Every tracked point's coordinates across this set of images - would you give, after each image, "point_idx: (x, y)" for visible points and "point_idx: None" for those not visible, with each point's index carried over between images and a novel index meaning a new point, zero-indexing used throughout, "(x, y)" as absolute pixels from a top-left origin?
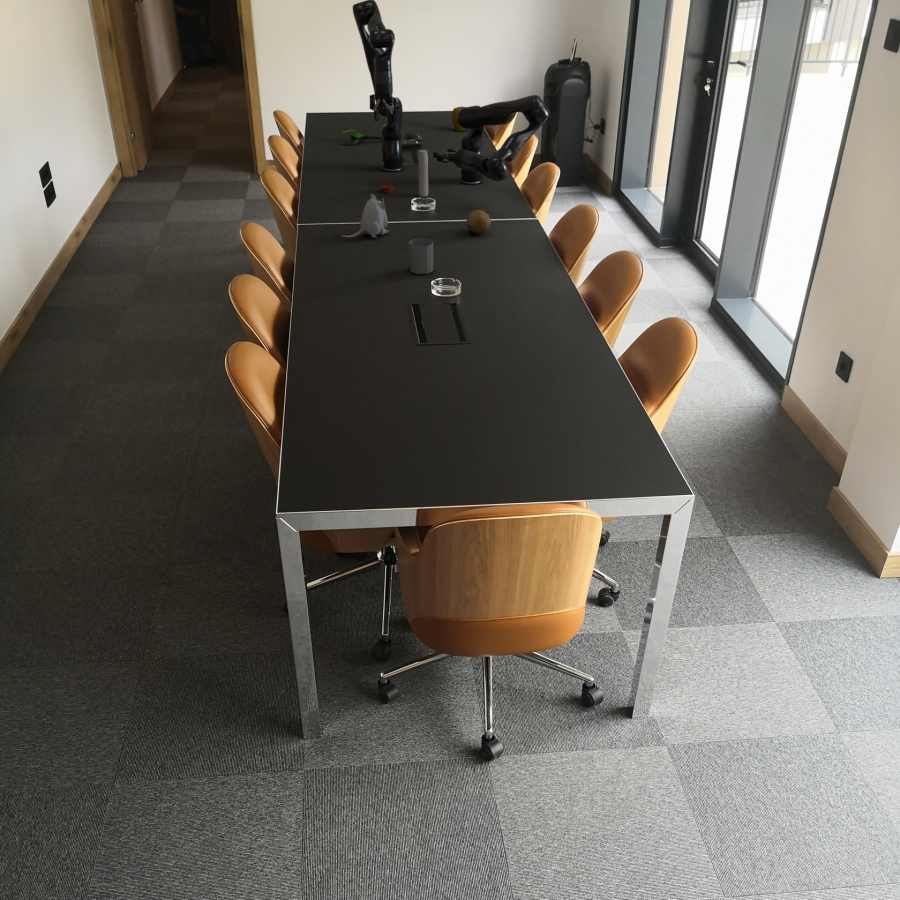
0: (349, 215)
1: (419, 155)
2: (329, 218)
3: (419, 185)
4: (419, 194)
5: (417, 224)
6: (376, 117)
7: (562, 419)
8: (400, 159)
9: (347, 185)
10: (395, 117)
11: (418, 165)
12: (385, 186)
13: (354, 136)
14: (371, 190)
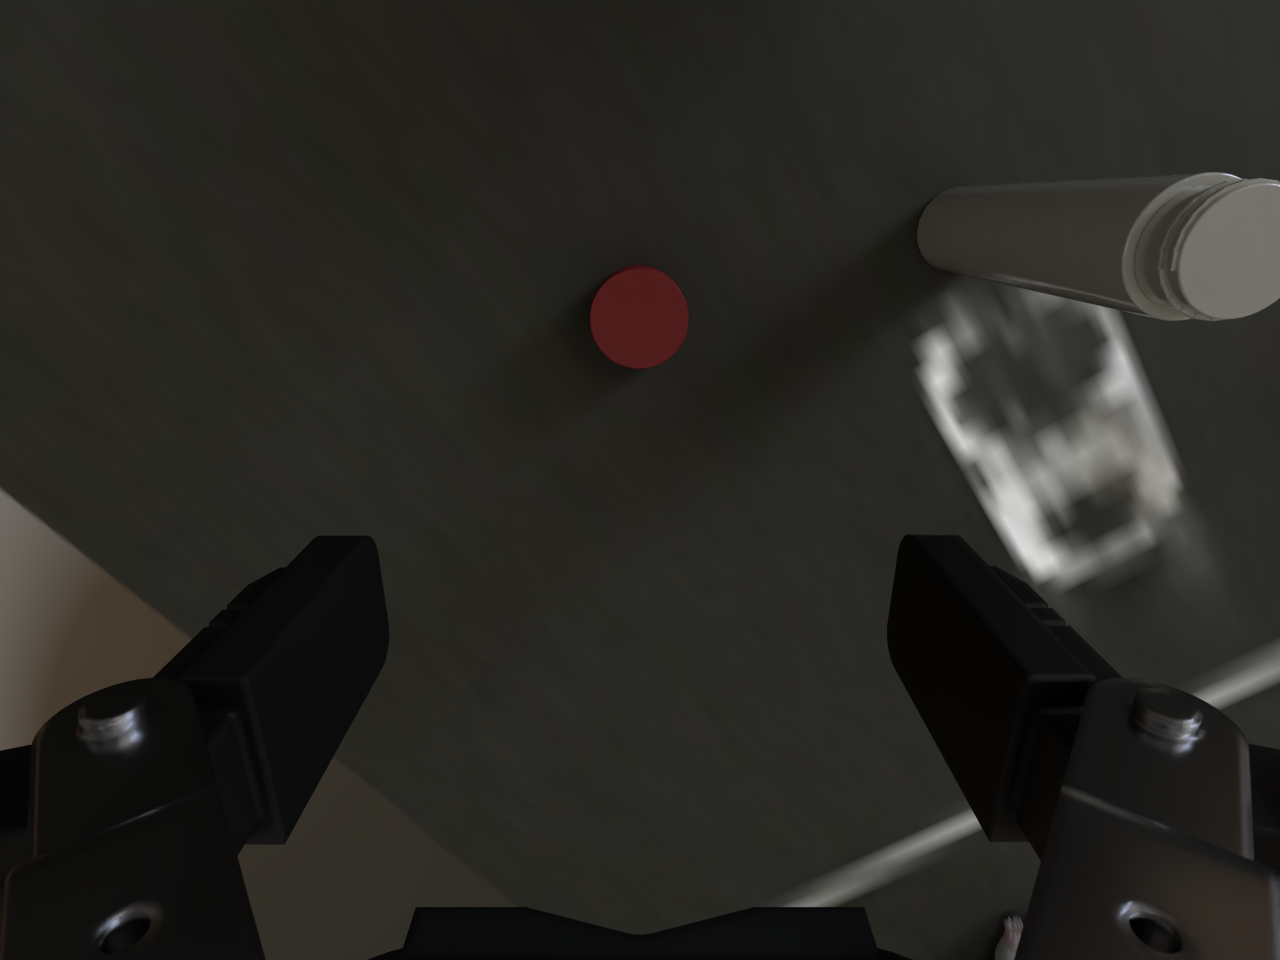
0: (736, 819)
1: (1162, 306)
2: (674, 894)
3: (975, 277)
4: (939, 268)
5: None
6: (355, 691)
7: None
8: None
9: (258, 351)
10: (1075, 652)
11: (1063, 291)
12: (623, 324)
13: None
14: (511, 358)
